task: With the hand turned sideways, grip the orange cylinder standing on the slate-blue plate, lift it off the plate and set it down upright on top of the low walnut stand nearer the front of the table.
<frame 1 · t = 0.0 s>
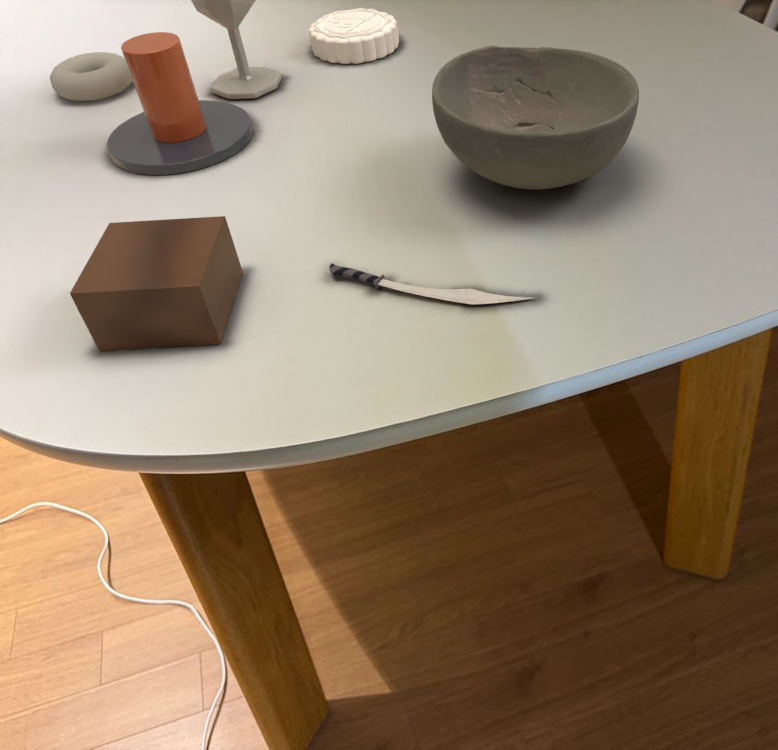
plate: (183, 140, 93), on the table
orange cylinder: (179, 130, 92), point 1 cm above the table, touching plate
knife: (428, 288, 70), on the table
bowl: (535, 173, 84), on the table
stand: (174, 309, 69), on the table
donut: (97, 90, 104), on the table
mooncake: (356, 48, 111), on the table
wineglass: (248, 88, 103), on the table
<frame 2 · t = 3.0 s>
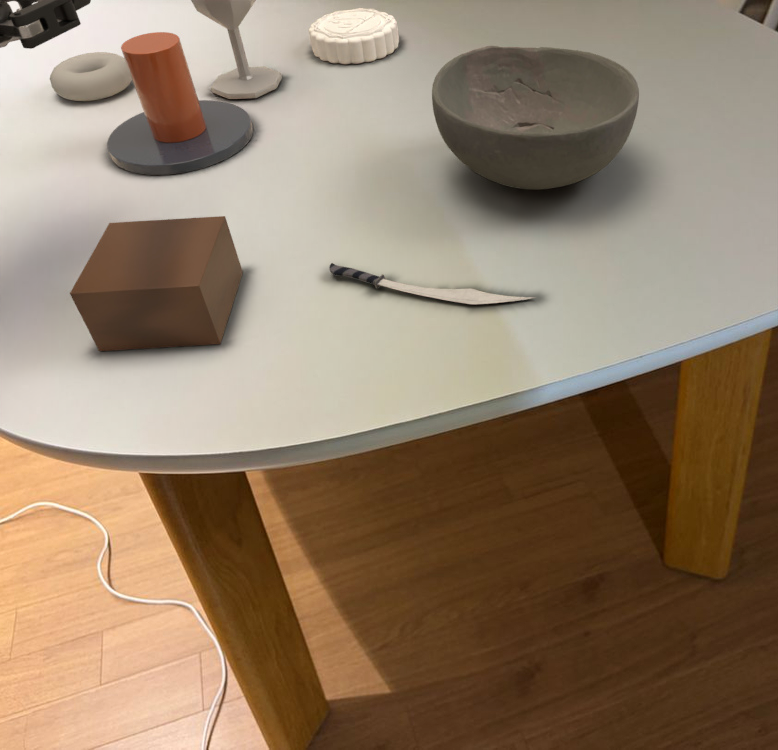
nothing on the table moved.
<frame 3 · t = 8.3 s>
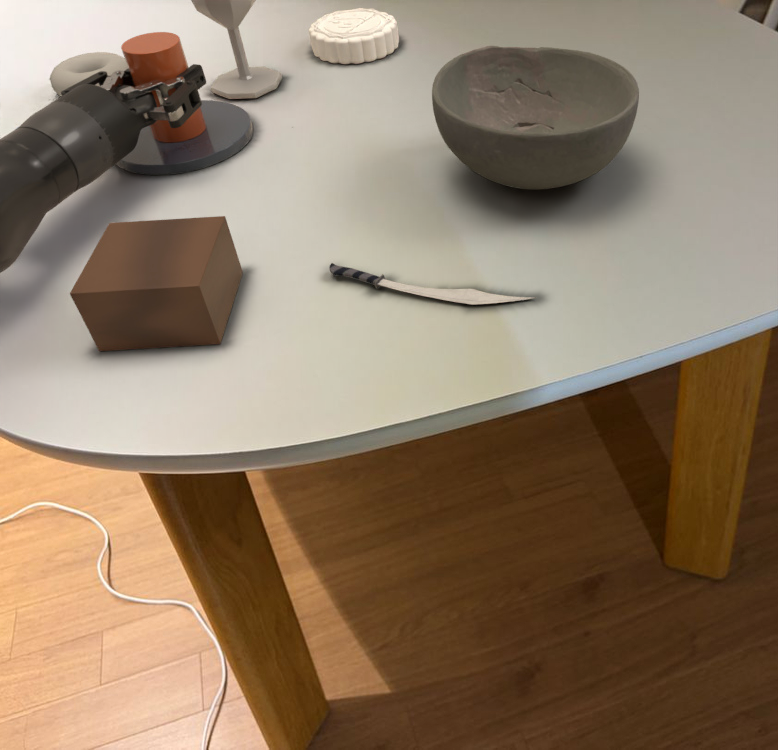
hand: (175, 70, 89), 7 cm above the table, tool horizontal, fingers closed on orange cylinder, 6 cm apart
orange cylinder: (179, 130, 92), point 1 cm above the table, touching gripper, plate
everything else where it was.
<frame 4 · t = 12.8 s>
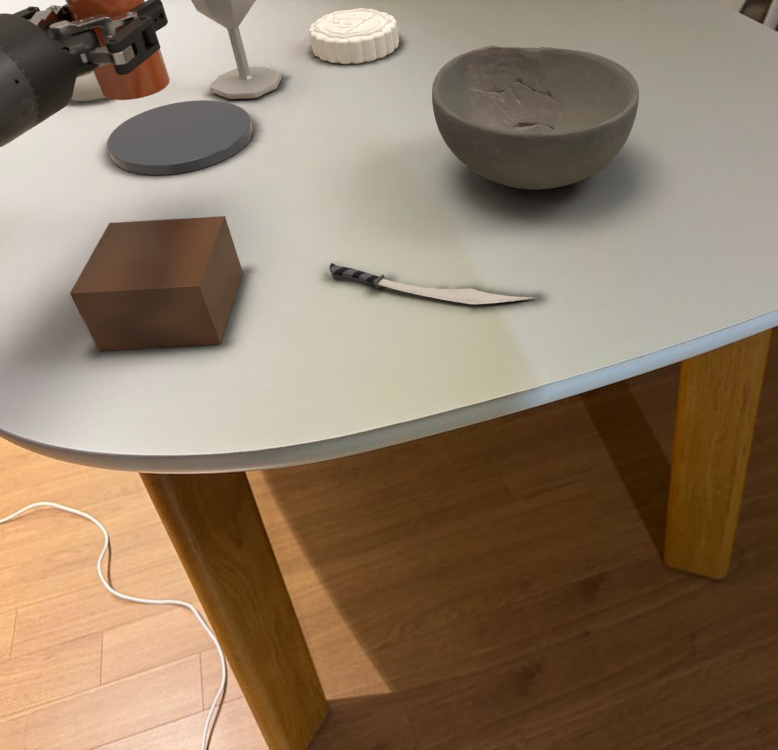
hand: (128, 8, 70), 19 cm above the table, tool horizontal, fingers closed on orange cylinder, 6 cm apart
orange cylinder: (135, 86, 73), point 13 cm above the table, touching gripper
everything else where it was.
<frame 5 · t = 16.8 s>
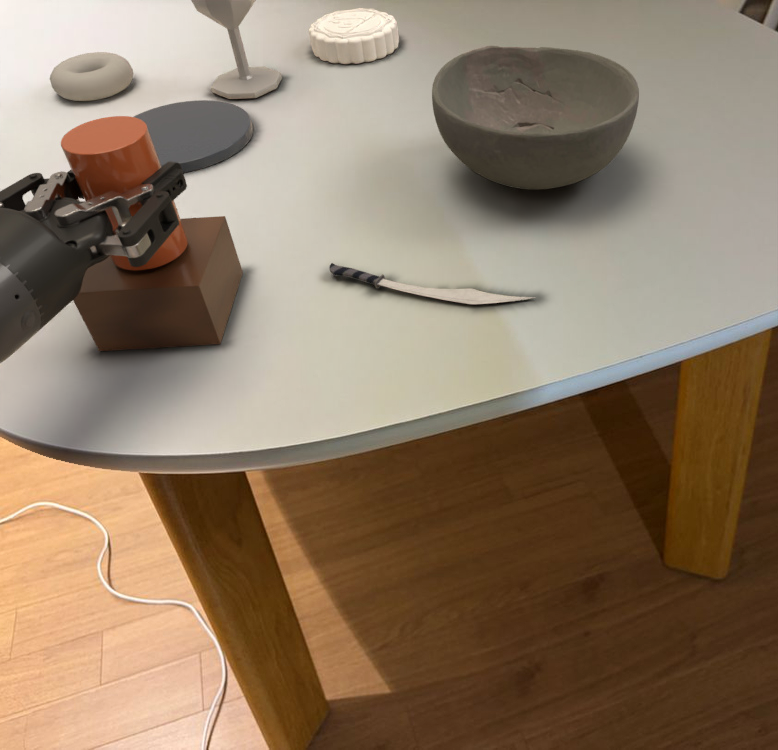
hand: (142, 167, 63), 12 cm above the table, tool horizontal, fingers closed on orange cylinder, 6 cm apart
orange cylinder: (150, 249, 65), point 6 cm above the table, touching gripper
everything else where it was.
when the fingers open (12 cm above the table, at t = 17.4 s): orange cylinder stays where it is, resting on stand.
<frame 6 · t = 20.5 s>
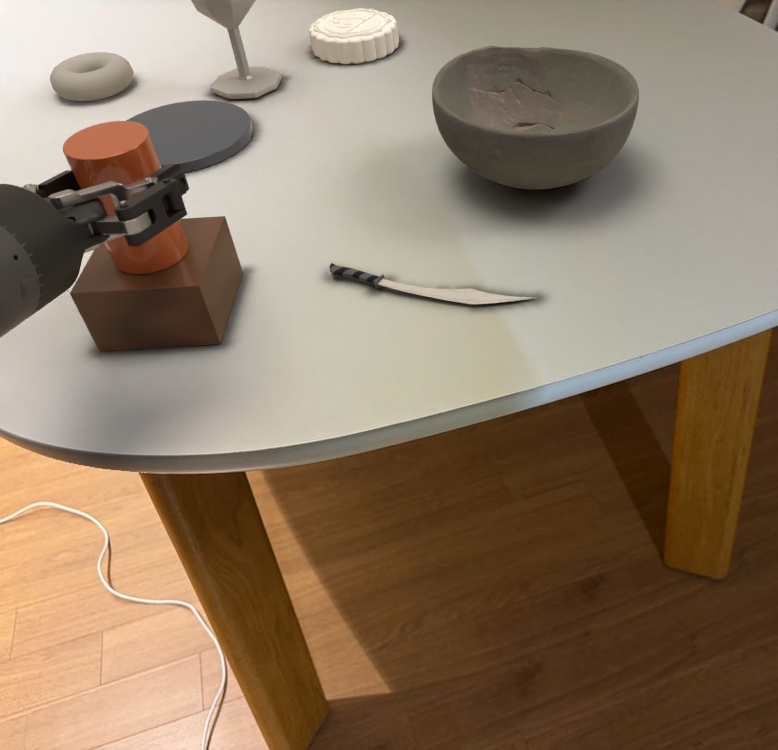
hand: (128, 179, 60), 13 cm above the table, tool horizontal, fingers open, 8 cm apart
orange cylinder: (151, 252, 65), point 6 cm above the table, touching gripper, stand
everything else where it was.
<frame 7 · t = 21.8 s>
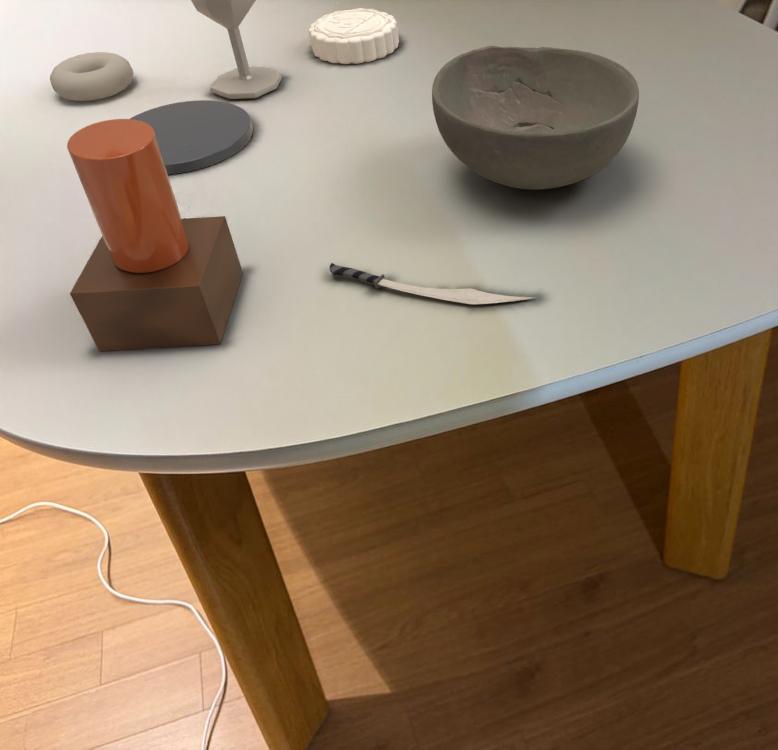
orange cylinder: (151, 250, 65), point 6 cm above the table, touching stand
everything else where it was.
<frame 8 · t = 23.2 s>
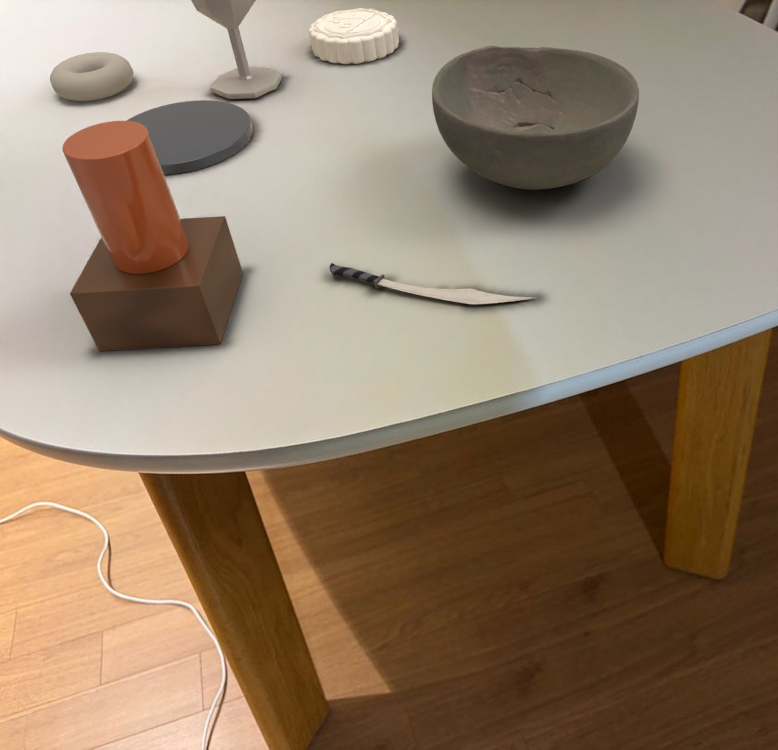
nothing on the table moved.
at the end: orange cylinder 0.0 cm off-centre on the stand, point 6.0 cm above the stand's base; orange cylinder tilted 0°; orange cylinder touching stand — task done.
